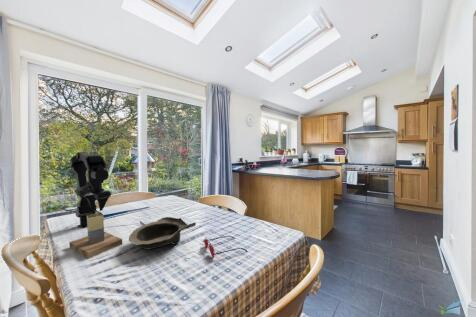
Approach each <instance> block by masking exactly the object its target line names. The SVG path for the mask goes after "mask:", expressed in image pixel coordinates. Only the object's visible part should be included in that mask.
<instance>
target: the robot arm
mask: <svg viewBox="0 0 476 317" xmlns="http://www.w3.org/2000/svg"><path fill="white" fill-rule="evenodd" d="M69 169H71V172H72V173H73V174H74V175H75V177H76V182H77V188H76V189H75V190H74V192H75V194H76V196H77V197H79V201H78V202H77V204H76V205H77V206H76V209H75V213H74V214H75V217H76V218H78V219H79V224H78V225H77V227H79V228H81V229H85V228H87V215H89V214H94V213H97V207H98V209H99V212H103V210H104V208H105V206H106V204H107V202H108V200H109V198H110V197H111V196H112V192H111V191H110V190H107V189H106V190H105V189H104V188H103V184H104V181H106V180H108V178H109V172H108V171H107V170H106V169H107V163H106V161H105V160H104V157H103V156H102V155H100V154H97V155H96V154H95V155H93V154H91V153H88V152H86V151H83V152H81V151H80V152H76V153H75V155H74V156H73V157H71V158H70V161H69ZM86 172H87V174H86ZM96 201H97V204H98V206H97V205H96Z"/></svg>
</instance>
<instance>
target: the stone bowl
mask: <svg viewBox="0 0 476 317" xmlns="http://www.w3.org/2000/svg"><path fill="white" fill-rule="evenodd" d="M187 226H188V223H187V222H186V221H184V220H183V219H182V218H181V217H180V218H177V217H172V216H166V217H161V218H159V219H157V221H156V220H155V221H150V222H148V223H145V224H143V225H142V226H141V225H140V226H139V227H138V228H136V229H134V230H133V231H132V232H131V233H130V234H129V236H128V242H130V243H131V244H133V245H136V246H137V245H138V246H140V247H141V249H144V250H151V249H156V248H161V247H164V246H167V245H170V244H173V245H176V244H179V243H180V240H181V232H182V231H183V230H184V229H185V227H187Z"/></svg>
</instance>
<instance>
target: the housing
mask: <svg viewBox="0 0 476 317" xmlns="http://www.w3.org/2000/svg"><path fill="white" fill-rule="evenodd" d="M86 229H87V236H88V241H89V244H94V243H98V242H101V241H104V232H105V223H104V214H103V213H102V211H99V212H96V213H94V214H89V215H87V227H86Z"/></svg>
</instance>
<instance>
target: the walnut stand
mask: <svg viewBox="0 0 476 317" xmlns="http://www.w3.org/2000/svg"><path fill="white" fill-rule="evenodd" d="M123 244H124V243H123V239H122V238H121V237H118V236H116V235H113V234H112V233H109V232H107V231H104V241H101V242H98V243H94V244H89V241H88V235H87V236H84V237H80V238H77V239H74V240H71V241H69V248H70V249H72V250H74V251H75V252H77V253H78V254H80V255H82V256H83V257H85V258H87V259H90V258H93V257H96V256H97V255H100V254H102V253H105V252H108V251H110V250H112V249H114V248H116V247H120V246H121V245H123Z"/></svg>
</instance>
